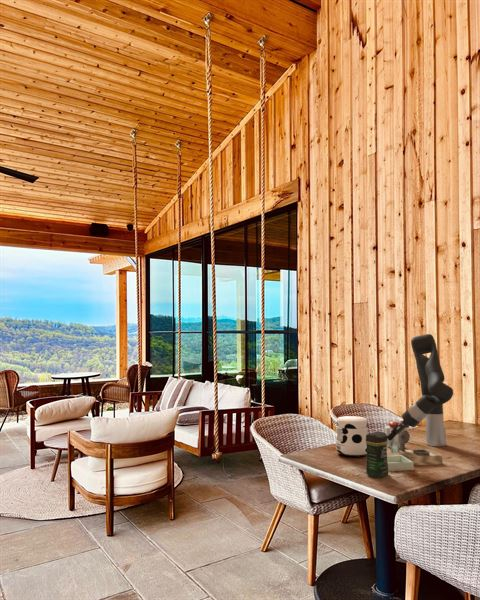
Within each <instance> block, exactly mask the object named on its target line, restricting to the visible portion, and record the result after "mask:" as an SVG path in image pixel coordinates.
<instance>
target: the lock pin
mask: <svg viewBox="0 0 480 600" xmlns="http://www.w3.org/2000/svg"><path fill="white" fill-rule="evenodd" d="M399 422H400V421H388V425H387V426H390V433H391V431H392V430H393V429H394V428H395V427H396V425H398V424H399ZM394 432H395V431H394ZM395 433H396V432H395ZM390 443H391V448H390V452H391V453H393V454H394V453H395V454H396V453H397V454H399V450H400V448H399V440H398V434H397V436H395V437H394V438H393V439H392V440H390Z"/></svg>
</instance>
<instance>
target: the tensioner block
mask: <svg viewBox="0 0 480 600" xmlns="http://www.w3.org/2000/svg"><path fill="white" fill-rule="evenodd" d="M410 439H411V435H410V433H409V431H408V430H407V429H406V430H405V431H404V432H402V433H401V434H399V435H398V440H399V443H400V448H399V452H398V455H402V456H404V457H406V458H407V459H409V460H411V461H412V462H413V466H427V465H430V466H431V465H443V455H442V454H441V453H439V452H436V451H435V450H432V449H430V448H419V449H418V448H416V449H406V445H405V444H407V443H408V442H409V441H410Z"/></svg>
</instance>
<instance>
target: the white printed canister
mask: <svg viewBox="0 0 480 600" xmlns="http://www.w3.org/2000/svg"><path fill="white" fill-rule="evenodd" d="M368 425H369V423H368V418H366V417H362V416H355V415H354V416H353V415H346V416H345V415H344V416H339V417H337V420H336V431H337V432H336V433H337V435H336V438H335V439H336V440H335V448H336V451H337V452H338V454H340V455H342V456H345V457H354V458H356V457H357V458H358V457H365V456H367V445H366V435H367V434H369V426H368Z"/></svg>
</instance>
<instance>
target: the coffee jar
mask: <svg viewBox="0 0 480 600" xmlns="http://www.w3.org/2000/svg"><path fill="white" fill-rule="evenodd" d="M366 445H367V455H366V464H365V465H366V466H365V467H366V469H365V470H366V473H365V474H366V475H367V476H369V477H370V478H377V479H378V478H380V479H381V478H384V477H386V476H388V475H389V471H388V462H387V456H388V452H387V451H388V450H387V449H388V447H387V435H386V434H385V431H384V432H383V431H378V430H377V431H375V432H371V433H369V432H368V434H367V435H366Z"/></svg>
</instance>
